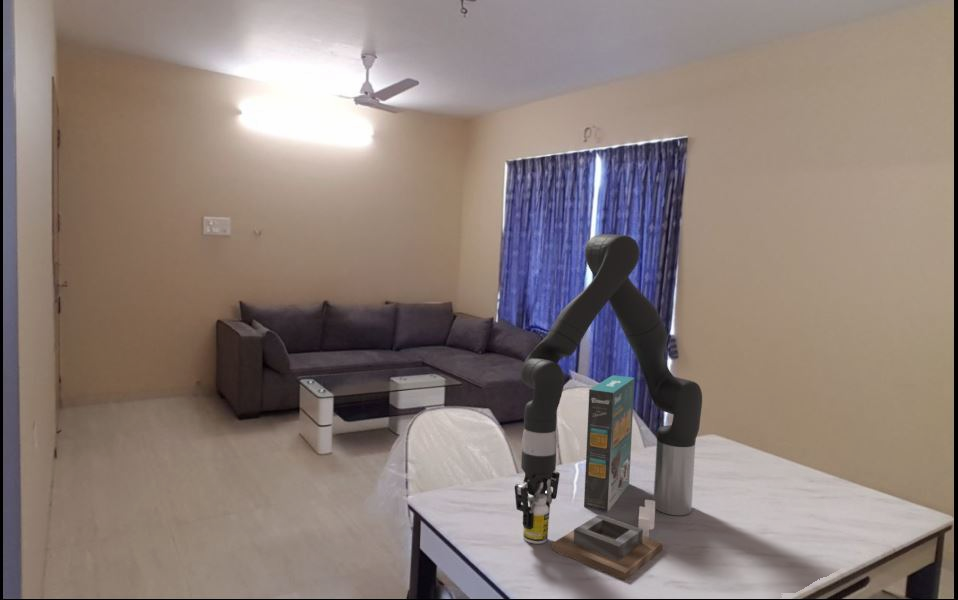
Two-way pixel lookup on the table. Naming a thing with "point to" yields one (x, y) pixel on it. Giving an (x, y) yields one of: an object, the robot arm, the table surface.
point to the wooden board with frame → (609, 546)
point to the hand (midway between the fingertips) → (536, 523)
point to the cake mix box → (608, 441)
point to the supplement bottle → (538, 522)
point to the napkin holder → (647, 517)
